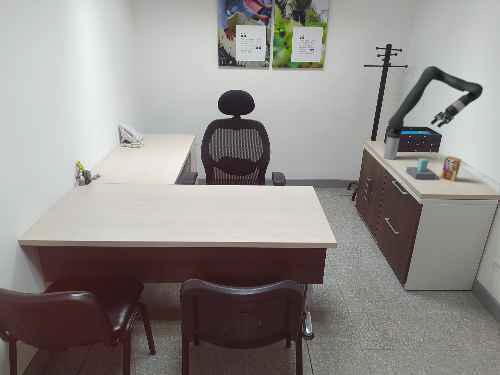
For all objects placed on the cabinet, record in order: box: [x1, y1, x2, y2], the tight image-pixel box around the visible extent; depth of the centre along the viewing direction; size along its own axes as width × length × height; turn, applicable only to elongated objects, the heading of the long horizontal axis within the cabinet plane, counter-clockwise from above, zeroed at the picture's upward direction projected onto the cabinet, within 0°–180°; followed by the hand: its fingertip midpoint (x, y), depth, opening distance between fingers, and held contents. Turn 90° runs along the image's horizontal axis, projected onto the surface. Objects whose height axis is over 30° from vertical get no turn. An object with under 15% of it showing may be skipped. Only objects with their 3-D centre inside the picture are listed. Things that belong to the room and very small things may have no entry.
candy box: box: [440, 155, 462, 182], centre depth 246 cm, size 9×4×15 cm, turn 39°
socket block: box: [405, 166, 437, 180], centre depth 253 cm, size 14×14×4 cm
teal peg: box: [416, 157, 430, 172], centre depth 251 cm, size 4×4×11 cm
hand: (434, 125), depth 246 cm, fingers open, 8 cm apart
